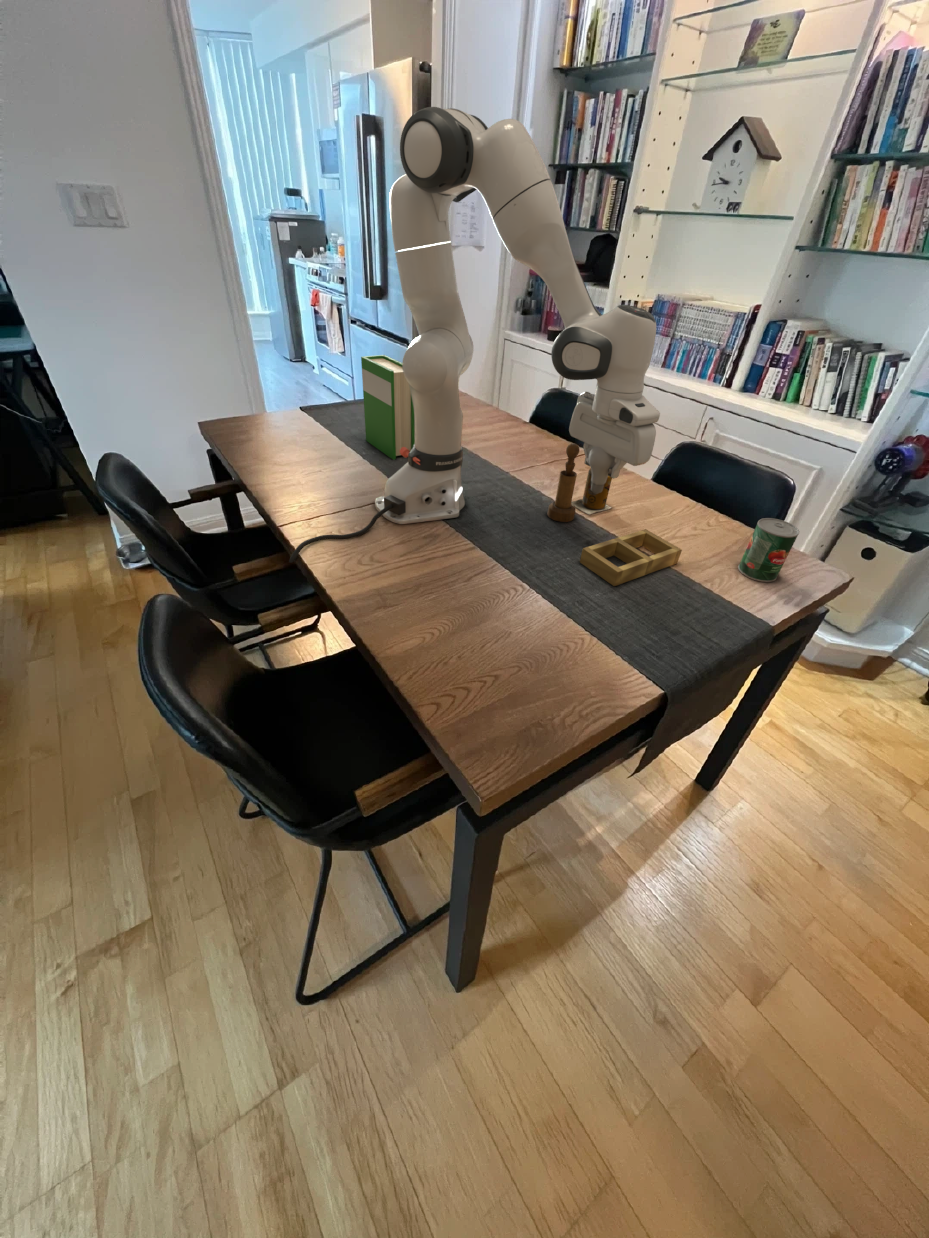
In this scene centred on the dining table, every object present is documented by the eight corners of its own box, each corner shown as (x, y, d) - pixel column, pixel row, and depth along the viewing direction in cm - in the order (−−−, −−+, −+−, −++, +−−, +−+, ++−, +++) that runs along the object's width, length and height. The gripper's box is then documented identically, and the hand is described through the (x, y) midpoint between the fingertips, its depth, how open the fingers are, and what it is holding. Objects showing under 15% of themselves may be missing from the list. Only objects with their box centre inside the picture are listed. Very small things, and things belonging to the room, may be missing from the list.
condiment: (612, 508, 136) (623, 463, 129) (588, 515, 132) (598, 469, 125) (592, 497, 141) (601, 453, 133) (568, 503, 137) (577, 458, 129)
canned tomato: (774, 586, 110) (797, 540, 104) (735, 574, 113) (755, 528, 107) (778, 570, 116) (801, 525, 109) (741, 558, 119) (760, 514, 112)
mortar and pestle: (576, 513, 132) (590, 442, 121) (571, 524, 127) (586, 451, 116) (550, 508, 134) (562, 437, 123) (544, 519, 129) (556, 446, 118)
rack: (614, 586, 107) (618, 572, 105) (579, 562, 114) (582, 548, 111) (677, 563, 116) (682, 549, 113) (641, 542, 122) (645, 528, 120)
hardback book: (415, 455, 157) (414, 368, 142) (393, 459, 153) (390, 371, 139) (387, 437, 168) (384, 354, 153) (366, 440, 165) (361, 356, 150)
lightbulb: (578, 495, 113) (589, 445, 106) (584, 485, 117) (594, 436, 111) (607, 501, 111) (619, 450, 104) (612, 491, 116) (624, 441, 109)
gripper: (568, 390, 108) (557, 456, 116) (644, 420, 95) (625, 492, 103) (591, 387, 111) (578, 452, 119) (667, 416, 98) (647, 486, 106)
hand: (600, 471), depth 111 cm, fingers closed on lightbulb, 6 cm apart
